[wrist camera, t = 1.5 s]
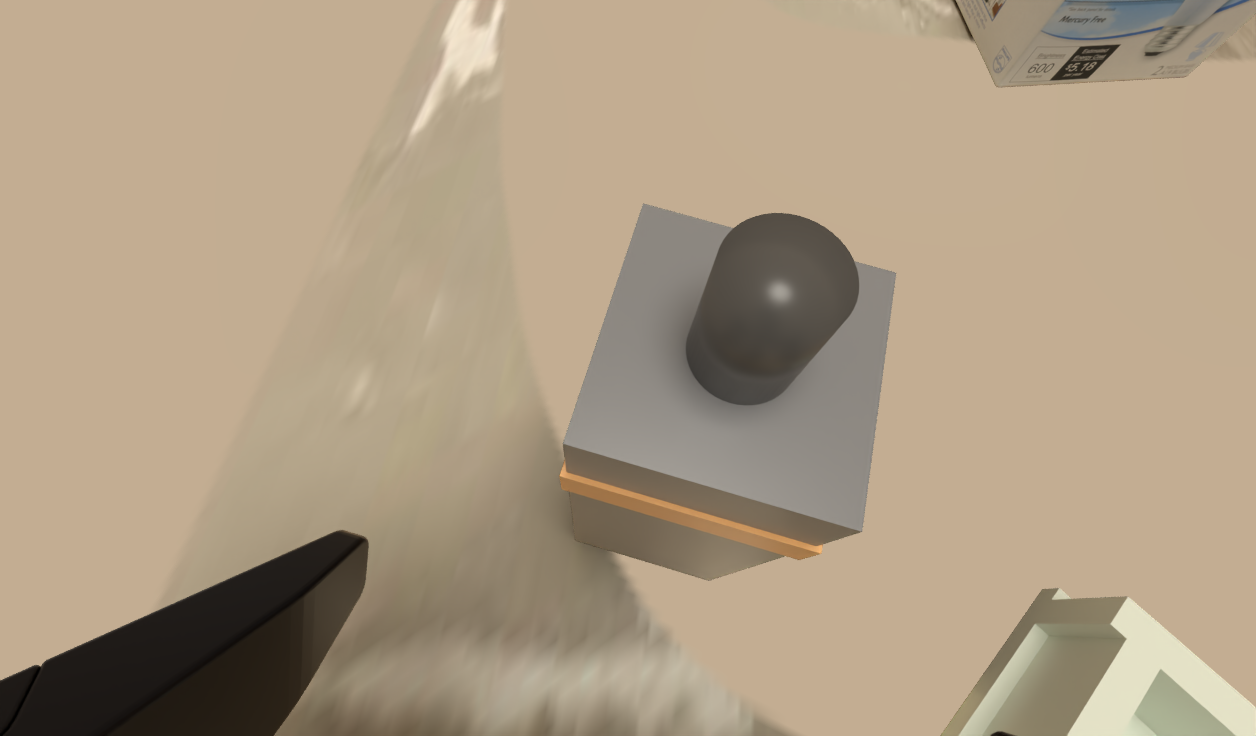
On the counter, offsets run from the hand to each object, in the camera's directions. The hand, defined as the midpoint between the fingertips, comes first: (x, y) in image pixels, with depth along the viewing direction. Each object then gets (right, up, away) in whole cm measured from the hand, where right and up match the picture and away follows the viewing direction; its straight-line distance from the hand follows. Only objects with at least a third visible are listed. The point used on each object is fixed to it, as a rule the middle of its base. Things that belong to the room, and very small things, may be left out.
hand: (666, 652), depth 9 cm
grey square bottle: (+1, 0, +12) cm, 12 cm away
